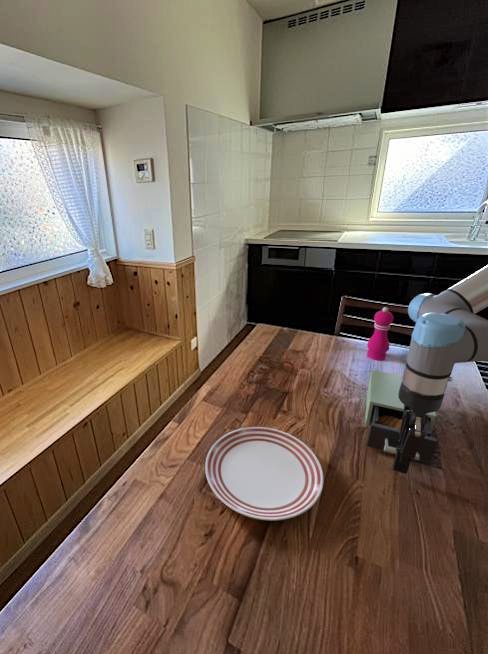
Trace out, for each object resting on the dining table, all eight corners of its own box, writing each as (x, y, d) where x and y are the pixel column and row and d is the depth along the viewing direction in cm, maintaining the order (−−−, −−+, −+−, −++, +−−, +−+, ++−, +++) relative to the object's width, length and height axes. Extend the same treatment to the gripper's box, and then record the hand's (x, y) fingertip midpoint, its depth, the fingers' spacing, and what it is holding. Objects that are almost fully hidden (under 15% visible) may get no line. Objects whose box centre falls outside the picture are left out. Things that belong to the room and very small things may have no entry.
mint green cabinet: (428, 442, 88) (436, 416, 84) (364, 426, 94) (370, 401, 91) (421, 404, 101) (428, 380, 98) (366, 392, 108) (371, 369, 104)
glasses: (293, 373, 120) (294, 361, 118) (281, 393, 110) (282, 380, 108) (259, 364, 127) (259, 352, 125) (244, 382, 117) (244, 369, 115)
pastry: (370, 427, 91) (373, 415, 90) (383, 416, 95) (386, 405, 93) (408, 447, 84) (411, 435, 82) (420, 435, 87) (423, 423, 86)
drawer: (432, 476, 77) (439, 454, 75) (366, 457, 83) (371, 436, 81) (423, 422, 93) (429, 402, 90) (368, 409, 99) (372, 390, 96)
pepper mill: (370, 349, 132) (379, 302, 123) (390, 355, 126) (401, 307, 118) (361, 356, 127) (370, 307, 119) (382, 363, 122) (392, 313, 114)
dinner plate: (182, 472, 84) (182, 462, 82) (254, 420, 99) (254, 411, 98) (273, 559, 64) (274, 548, 63) (344, 477, 80) (346, 467, 78)
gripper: (450, 410, 62) (421, 498, 72) (440, 373, 73) (416, 454, 82) (403, 400, 65) (381, 485, 75) (399, 367, 76) (381, 445, 86)
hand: (399, 469), depth 79 cm, fingers closed
